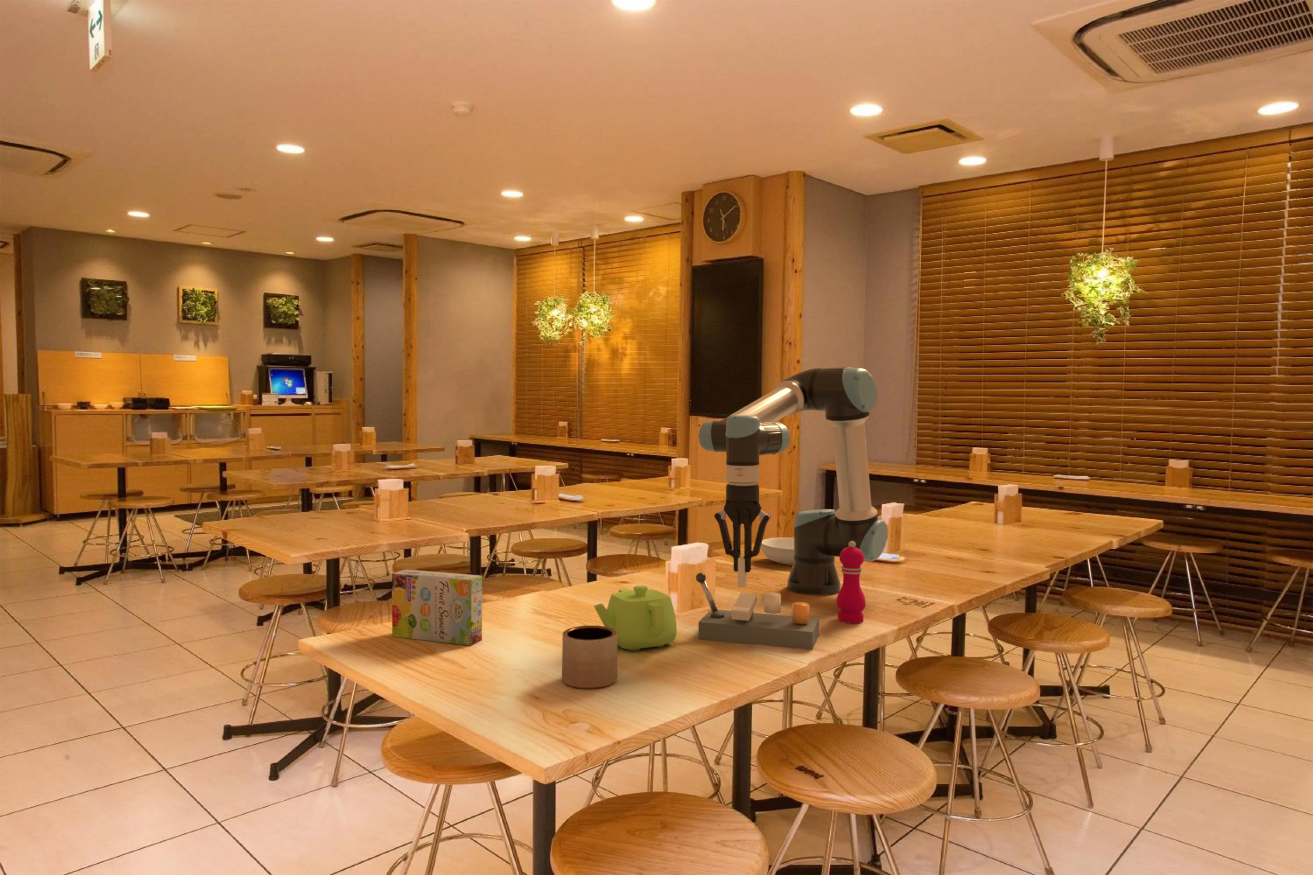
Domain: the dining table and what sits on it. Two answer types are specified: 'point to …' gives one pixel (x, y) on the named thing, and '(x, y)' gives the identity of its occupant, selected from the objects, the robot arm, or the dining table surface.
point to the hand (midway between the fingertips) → (742, 585)
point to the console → (759, 630)
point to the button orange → (800, 612)
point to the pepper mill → (851, 586)
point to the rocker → (744, 606)
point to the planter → (589, 657)
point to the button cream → (772, 602)
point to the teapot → (640, 618)
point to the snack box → (437, 606)
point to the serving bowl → (779, 550)
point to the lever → (706, 591)
